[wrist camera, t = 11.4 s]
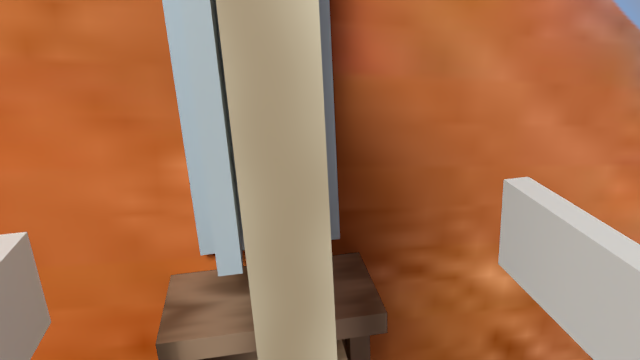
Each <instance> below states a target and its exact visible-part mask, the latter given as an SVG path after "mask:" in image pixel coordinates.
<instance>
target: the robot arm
mask: <svg viewBox="0 0 640 360" xmlns="http://www.w3.org/2000/svg"><path fill="white" fill-rule="evenodd" d="M498 264H499V265H500V266H501V267H502V268H503V269H504V270H505V271H506V272H507V273H508V274H509V275H510V276H511V277H512V278H513V279H514V280H515V281H516V282H517V283H518V284H519V285H520V286H521V287H522V288H523V289H524V290H525V291H526V292H527V293H528V294H529V295H530V296H531V297H532V298H533V299H534V300H535V301H536V302H537V303H538V304H539V305H540V306H541V307H542V308H543V309H544V310H545V311H546V312H547V313H548V314H549V315H550V316H551V317H552V318H553V319H554V320H555V321H556V322H557V323H558V324H559V325H560V326H561V327H562V328H563V329H564V330H565V331H566V332H567V333H568V334H569V335H570V336H571V337H572V338H573V339H574V340H575V341H576V342H577V343H578V344H579V345H580V347H581V348H582V349H583V350H584V351H585V352H586V353H587V354H588V355H589V356H590V357H591V358H592V359H593V360H640V244H638V243H636V242H634V241H633V240H631V239H630V238H628V237H626V236H625V235H623V234H621V233H620V232H618V231H616V230H615V229H613V228H611V227H610V226H608V225H607V224H605V223H603V222H602V221H600V220H598V219H597V218H595V217H593V216H592V215H590V214H589V213H587V212H585V211H584V210H582V209H580V208H579V207H577V206H575V205H574V204H572V203H570V202H569V201H567V200H566V199H564V198H562V197H561V196H559V195H557V194H556V193H554V192H552V191H551V190H549V189H548V188H546V187H544V186H543V185H541V184H539V183H538V182H536V181H534V180H533V179H531V178H529V177H523V178H514V179H505V180H504V184H503V200H502V215H501V231H500V246H499V262H498ZM50 323H51V320H50V316H49V312H48V308H47V305H46V301H45V297H44V294H43V290H42V286H41V282H40V279H39V275H38V271H37V267H36V264H35V260H34V256H33V252H32V249H31V245H30V241H29V238H28V234H27V232H22V233H13V234H4V235H0V360H30V359H31V357H32V355H33V354H34V352H35V350H36V348H37V346H38V345H39V343H40V341H41V339H42V338H43V336H44V334H45V332H46V330H47V329H48V327H49V325H50Z"/></svg>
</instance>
